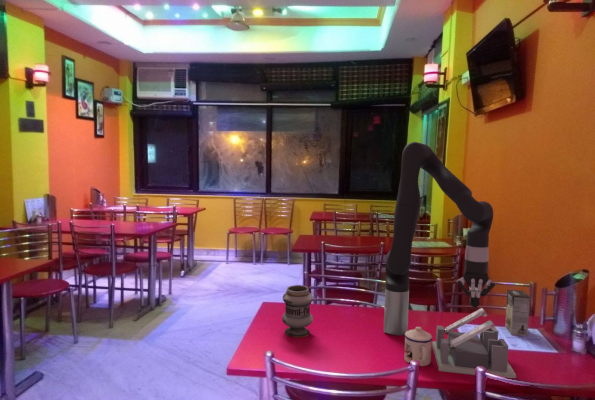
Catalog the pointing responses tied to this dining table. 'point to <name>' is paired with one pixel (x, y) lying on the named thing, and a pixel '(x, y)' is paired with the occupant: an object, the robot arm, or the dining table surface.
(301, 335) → the apothecary jar
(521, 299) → the coffee box
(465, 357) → the base
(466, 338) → the strap
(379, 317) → the dining table surface
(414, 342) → the teacup with lid
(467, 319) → the grey hinged latch bar
